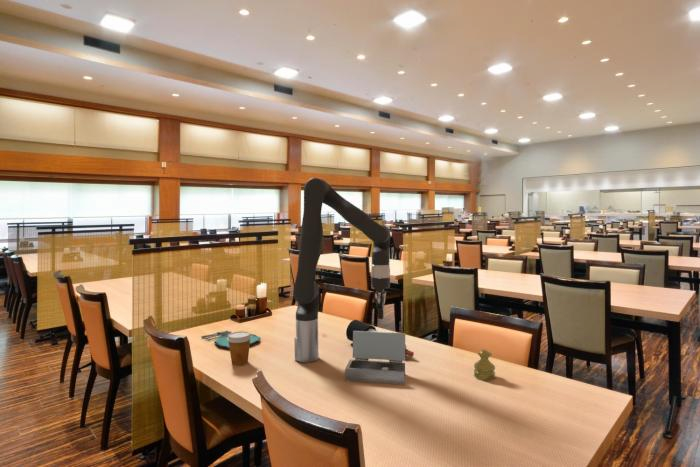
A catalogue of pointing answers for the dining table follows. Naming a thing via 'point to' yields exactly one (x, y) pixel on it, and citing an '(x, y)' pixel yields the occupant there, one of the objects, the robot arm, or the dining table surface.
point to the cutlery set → (224, 342)
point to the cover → (379, 346)
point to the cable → (362, 326)
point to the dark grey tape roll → (384, 368)
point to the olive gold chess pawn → (484, 367)
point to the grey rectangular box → (375, 372)
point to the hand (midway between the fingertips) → (380, 318)
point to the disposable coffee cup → (239, 347)
